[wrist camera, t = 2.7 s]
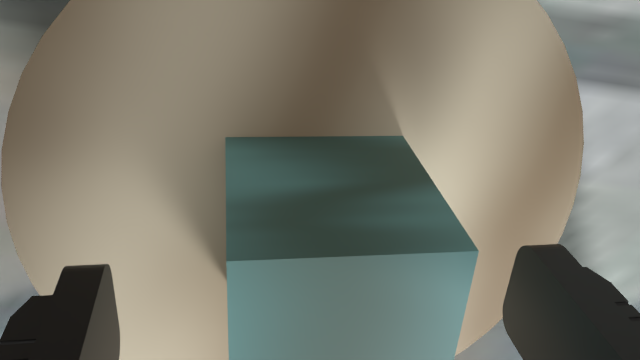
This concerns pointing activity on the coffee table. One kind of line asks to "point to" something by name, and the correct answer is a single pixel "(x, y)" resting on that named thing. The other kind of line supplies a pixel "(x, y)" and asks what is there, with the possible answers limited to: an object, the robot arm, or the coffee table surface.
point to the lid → (294, 169)
